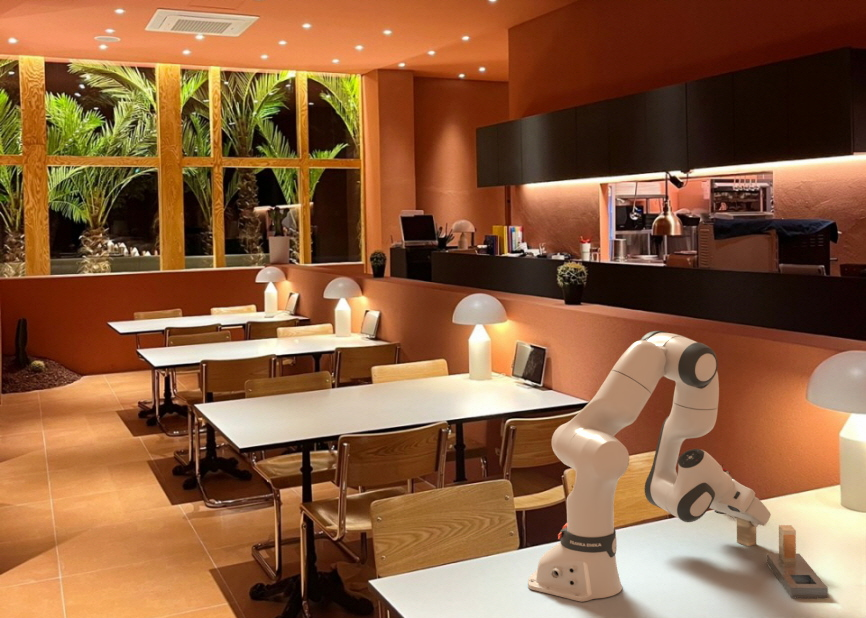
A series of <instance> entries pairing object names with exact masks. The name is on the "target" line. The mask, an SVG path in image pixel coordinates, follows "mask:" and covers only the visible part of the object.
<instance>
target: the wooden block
mask: <svg viewBox="0 0 866 618" xmlns="http://www.w3.org/2000/svg"><path fill="white" fill-rule="evenodd" d="M749 522H750V521H747V520H744V519H741V518H738V517H737V520H736V543H738V544H741V545H743V546H747V547H752V546H755V545H757V527H755V526H752V525H751V524H750V523H749Z"/></svg>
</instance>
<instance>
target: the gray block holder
mask: <svg viewBox="0 0 866 618" xmlns="http://www.w3.org/2000/svg"><path fill="white" fill-rule="evenodd" d="M766 564H767V565H768V567H769V568H770V570H771V571H772V572H773V574H774V576H775V577H776V579H777V580H778V581H779V583H780V584H781V586H782V587H783V588H784V590H785V591H786V593H787V594H788V596H789V595H790V596H789V597H790V598H791V599H817V598H828V599H829V597H828V595H829V588H828V586H827V585H826V584H825V583H824V582H823V580H822V579H821V578H820V577H819V575H818V574H817V573H816V572H815V570H814V569H813V568H812V567H811V566H810V565H809V563H808V562H807V561H806V559H804V557H803V556H802V555H801V553H797V530H796V529H795V527H793V526H792V525H791V524H790V525H789V524H787V525H785V524H779V525H778V553H776V552H775V553H771V552H770V553H769V552H768V553H766Z"/></svg>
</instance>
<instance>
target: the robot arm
mask: <svg viewBox="0 0 866 618" xmlns="http://www.w3.org/2000/svg"><path fill="white" fill-rule="evenodd" d="M718 365H719V363H718V359H717V354H716V352H715V351H714V350H713V348H711V347H709V345H706V344H705V343H702V342H698V341H695V340H693V339H691V338H688V337H687V336H684V335H680V334H677V333H672V332H671V333H669V332H667V331H665V330H664V331H663V330H654V331H649V332H647V333H646V334H645V335H643V336H642V337H641V339H640V340H639V339H638V340H637V341H635V342H633V343H631V345H630V346H629V347H628V348H626V350H625V351H624V352H623V353H622V354H621V356H620V357H619V359H618V360H617V361H616V363H615V364H614V365H613V367H612V368H611V370H610V372H609V373H608V374H607V376H606V378H605V379H604V382H603V383H602V384H601V386H600V387H599V388H598V390H597V391H596V394H595V395H594V396H593V397H592V399H591V400H590V401H589V402H588V403H587V404H586V405H585V406H584V407H583V408H582V409H581V410H580V411H579V412H578V413H577V414H576V415H575V416H574V417H572V418H571V420H568V421H567V422H566V423H563V424H560V425H559V426H558V427H557V428H556V429H555V431H554V432H553V433H552V436H551V443H550V444H551V448H552V451H553V453H554V455H555V456H556V457H557V458H558V460H559V461H561V463H563V464H564V465H566V466H567V467H570V468H571V469H573V470H574V471H575V479H574V484H573V488H572V491H571V492H569V494H568V495H567V497H566V523H565V524H564V525H563V526H562V529H561V530H560V531H559V533H558V534H557V537H558V538H557V540H559V541H560V542H558V543H557V544H556V545H554V546H553V547H551V548H550V549H548V550H547V551H546V552H545V553H544V554H543V555H542V556H541V557H540V559H539V561H538V563H537V564H538V565H537V569H536V570H535V571H533V573H532V574H531V575H530V576H529V577H528V581H527V587H528V589H530V590H532V591H535V592H540V593H544V594H548V595H552V596H553V595H554V596H557V597H561V598H565V599H568V600H572V601H576V602H577V601H578V602H588V601H591V600H594V599H596V600H597V599H604V598H610V597H613V596H615V595H617V594H619V593H620V592H621V591H622V589H623V585H622V582H621V579H620V575H619V571H618V565H617V558H616V554H617V546H618V545H617V540H618V539H617V536H616V535H617V533H616V532H617V531H616V529H615V528H614V527H615V525H614V524H615V523H614V521H615V517H614V516H615V515H614V511H615V510H614V506H615V504H614V501H615V496H616V495H615V494H616V490H617V486H618V483H619V479H621V478H622V476H624V474H626V472H627V470H628V468H629V465H630V454H629V450H628V449H627V447H626V446H625V445H624V444H623V443H622V442H621V441H620V440H619V439H618V438H617V437H615V435H617V433H619V432H620V431H621V430H623V429H625V428H626V427H628V426H630V425H632V424H633V423H634V422H635V421H637V419H638V417H639V416H640V414H641V412H642V410H643V409H644V407H645V406H646V404H647V403H648V401H649V399H650V397H651V396H652V394H653V393H654V391H655V389H656V387H657V385H658V383H659V381H660V380H661V379H662V378H663V377H664V378H666V379H669V380H671V381H674V382H675V387H674V392H673V399H672V407H671V411H670V413H669V416H667V417H665V420H664V421H663V423H662V426H661V428H660V431H659V437H658V440H657V443H656V444H657V445H656V448H655V452H654V458H653V461H652V466H651V468H650V472H649V474H648V475H647V477H646V481H645V483H644V495H645V498H646V500H647V501H648V503H650V504H651V505H653V506H656V507H657V508H660V509H662V510H664V511H666V512H667V513H668V514H670V515H672V516H674V517H675V518H677V519H678V520H680V521H682V522H684V523H693V522H696V521H698V520H700V519H701V518H702V517H703V516H704V515H705V514H706V513H707V511H708V510H709V509H711V510H717V511H720V512H723V513H726V514H725V515H728V516H730V517H732V518H733V520H735V521H737V517H738V518H741V519H744V520H747V521H750V522H749V523H750V524H751V525H752V526H755V527H756V528H758V526H759V525H760V526H766V525H767V524H768V522H769V520H770V519H771V515H772V514H771V512H770V510H769V509H768V508H767V506H766V505H765V504H764V503H763V502H762V500H760V499H759V498H758V497H756V492H755V491H754V490H753V489H751V488H750V487H748V486H745V485H743V484H741V483H740V482H738V481H737V480H735V478H734V479H732V478H731V477H730V476H731V475H730V476H729V475H728V474H727V473H726V472H724V471H723V467H722V465H720V463H718V461H717V460H716V459H715V458H714V457H713V456H712V455H711V454H709V453H708V452H707V451H705V450H704V449H699V448H691V449H689V450H685V451H684V452H683V453H682V454H680V452H681V451H680V450H681V448H682V445H683V443H684V441H685V440H687V439H697V438H701V437H703V436H705V435H707V434H708V433H710V432H711V431H712V430H713V429H714V427H715V425H716V422H717V417H718V409H719V401H720V400H719V398H720V386H719V385H720V382H719V373H718ZM679 454H680V456H679ZM677 466H678V469H676V467H677Z"/></svg>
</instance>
